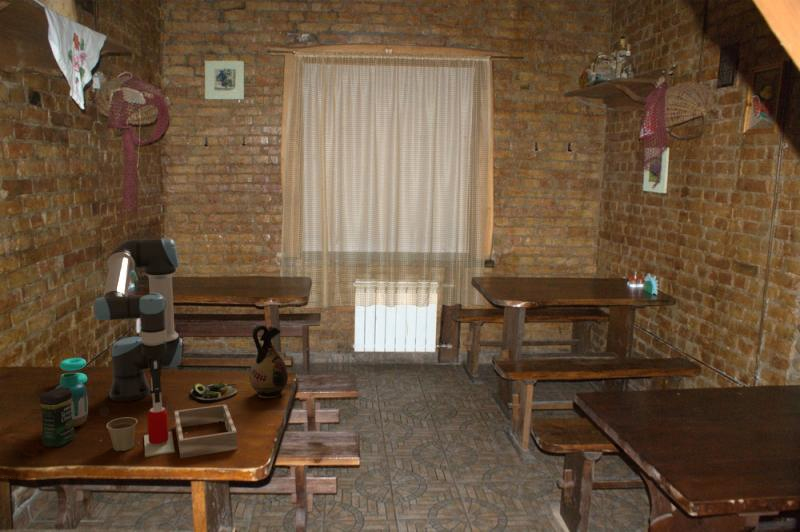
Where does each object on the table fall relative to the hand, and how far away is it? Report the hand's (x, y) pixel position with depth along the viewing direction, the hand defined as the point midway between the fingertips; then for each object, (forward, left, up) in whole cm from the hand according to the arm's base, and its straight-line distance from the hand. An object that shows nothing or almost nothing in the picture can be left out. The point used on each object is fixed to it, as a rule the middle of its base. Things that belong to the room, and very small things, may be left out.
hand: (157, 403), depth 207 cm
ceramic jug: (-32, +43, -15) cm, 55 cm away
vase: (-27, -28, -15) cm, 41 cm away
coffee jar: (-14, -31, -15) cm, 37 cm away
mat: (0, 0, -15) cm, 15 cm away
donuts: (-75, -31, -15) cm, 82 cm away
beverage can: (0, 0, -14) cm, 14 cm away
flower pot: (-2, -11, -15) cm, 19 cm away
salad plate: (-41, +22, -15) cm, 49 cm away
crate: (0, +15, -15) cm, 21 cm away
